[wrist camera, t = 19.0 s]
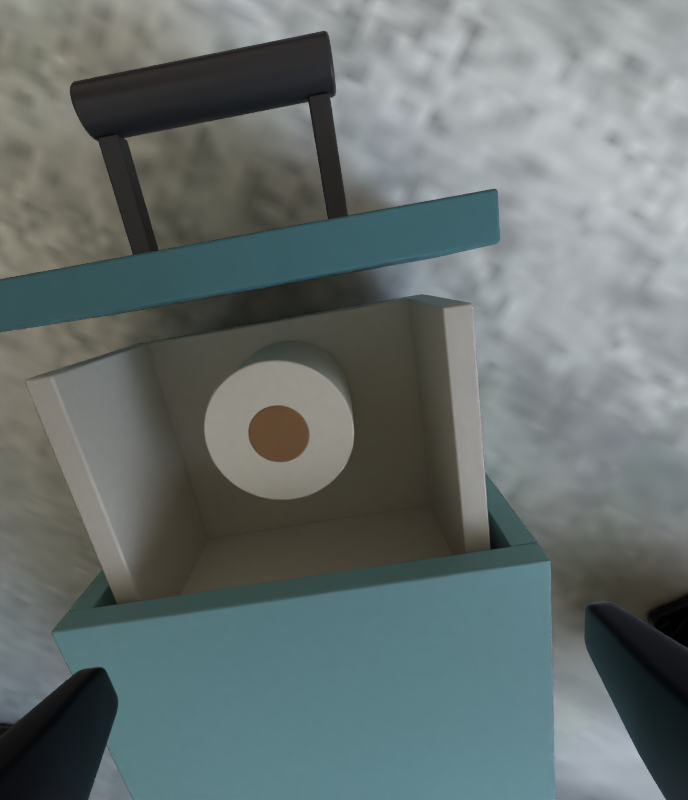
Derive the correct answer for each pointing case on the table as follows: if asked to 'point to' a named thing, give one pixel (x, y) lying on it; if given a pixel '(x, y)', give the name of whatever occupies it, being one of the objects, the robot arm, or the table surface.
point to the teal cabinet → (336, 680)
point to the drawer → (229, 348)
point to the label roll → (282, 422)
